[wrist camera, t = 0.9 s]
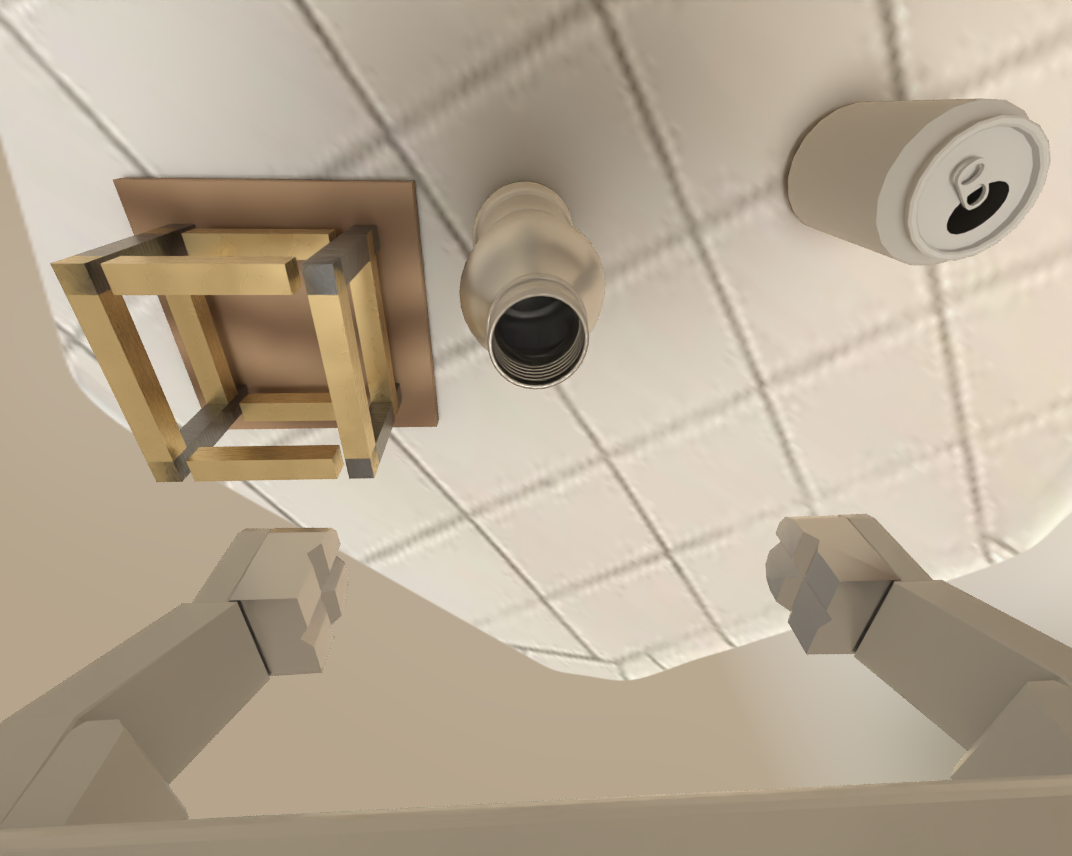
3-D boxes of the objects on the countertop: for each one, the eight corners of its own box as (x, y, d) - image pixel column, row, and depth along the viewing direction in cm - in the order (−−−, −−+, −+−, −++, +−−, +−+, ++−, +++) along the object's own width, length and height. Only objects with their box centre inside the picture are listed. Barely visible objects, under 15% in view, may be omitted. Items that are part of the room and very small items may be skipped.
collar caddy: (170, 223, 32) (50, 263, 24) (377, 225, 33) (332, 264, 24) (232, 401, 39) (156, 482, 31) (402, 400, 40) (373, 478, 31)
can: (811, 250, 36) (929, 305, 26) (760, 165, 33) (873, 189, 23) (913, 172, 34) (1088, 198, 24) (869, 71, 31) (1048, 51, 21)
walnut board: (125, 177, 32) (112, 179, 31) (414, 180, 33) (411, 182, 32) (217, 421, 41) (209, 429, 40) (438, 418, 42) (437, 426, 41)
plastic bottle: (460, 254, 35) (417, 387, 18) (499, 156, 32) (492, 206, 15) (541, 294, 37) (572, 448, 20) (587, 204, 34) (668, 297, 17)
